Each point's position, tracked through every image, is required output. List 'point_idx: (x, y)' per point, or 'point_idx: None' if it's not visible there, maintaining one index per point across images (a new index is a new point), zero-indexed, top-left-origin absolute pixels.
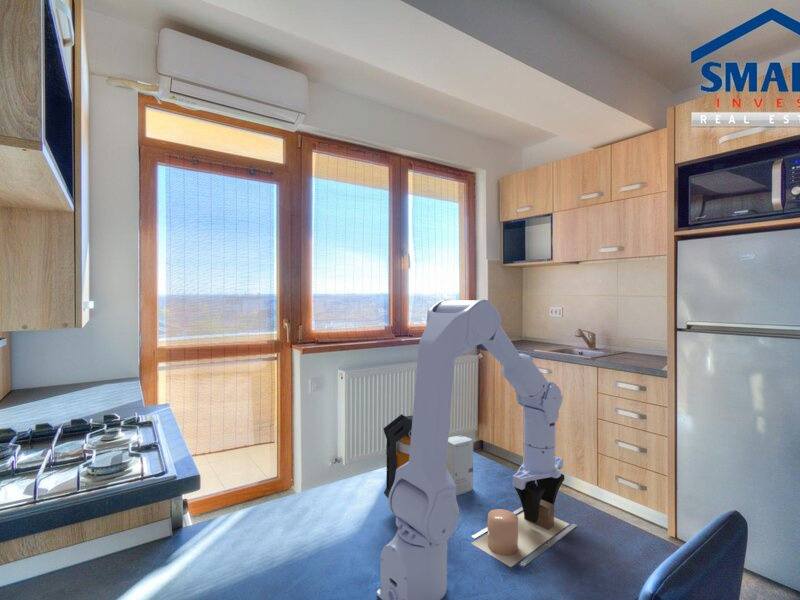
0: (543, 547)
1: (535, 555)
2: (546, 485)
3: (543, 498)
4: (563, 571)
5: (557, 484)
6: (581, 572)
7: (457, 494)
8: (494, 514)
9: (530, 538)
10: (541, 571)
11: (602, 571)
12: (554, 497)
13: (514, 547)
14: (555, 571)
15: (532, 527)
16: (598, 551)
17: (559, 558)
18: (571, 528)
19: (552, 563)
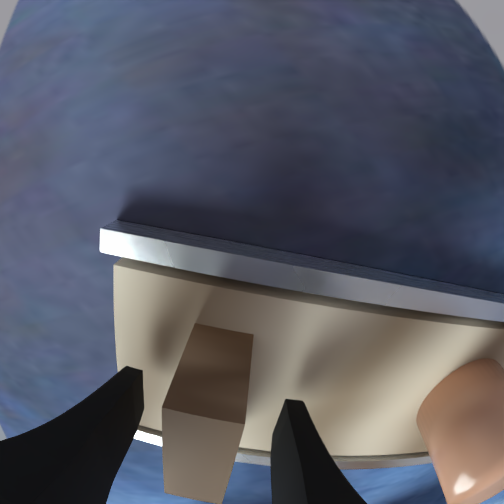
0: (425, 302)
1: (486, 305)
2: (84, 498)
3: (121, 442)
4: (472, 188)
5: (46, 489)
6: (441, 121)
7: None
8: (492, 491)
9: (377, 366)
10: (500, 258)
11: (377, 42)
12: (92, 419)
13: (500, 372)
14: (484, 215)
15: (279, 389)
16: (219, 82)
17: (403, 225)
18: (150, 244)
19: (448, 239)
